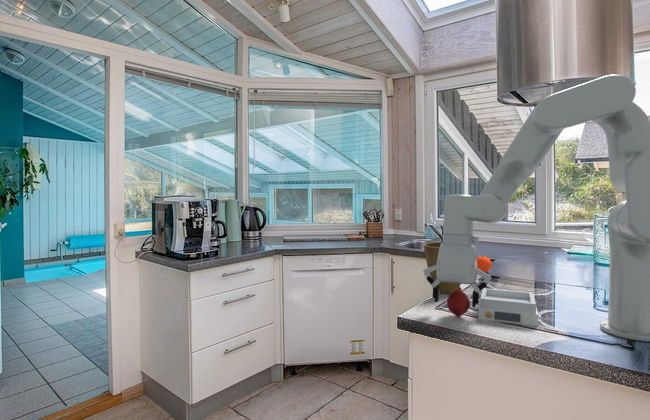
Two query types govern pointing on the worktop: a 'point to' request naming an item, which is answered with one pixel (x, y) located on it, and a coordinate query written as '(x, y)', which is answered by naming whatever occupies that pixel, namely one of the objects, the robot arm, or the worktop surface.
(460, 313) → the onion
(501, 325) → the worktop surface
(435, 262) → the plant pot
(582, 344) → the worktop surface
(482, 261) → the clementine
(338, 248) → the worktop surface
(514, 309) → the scale
